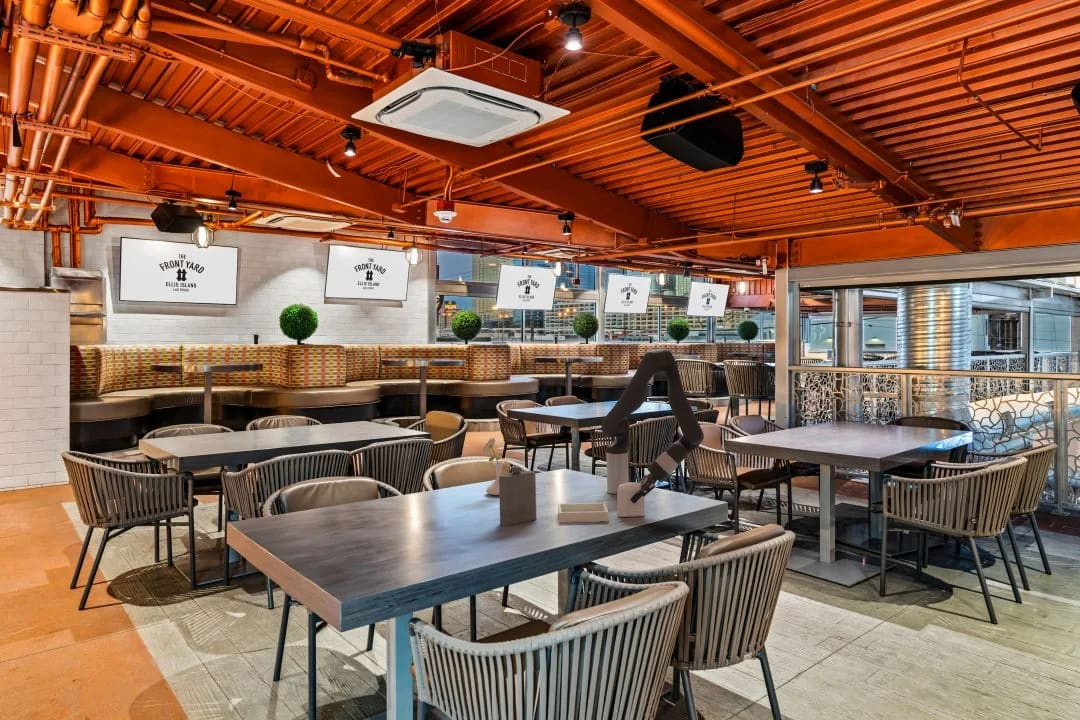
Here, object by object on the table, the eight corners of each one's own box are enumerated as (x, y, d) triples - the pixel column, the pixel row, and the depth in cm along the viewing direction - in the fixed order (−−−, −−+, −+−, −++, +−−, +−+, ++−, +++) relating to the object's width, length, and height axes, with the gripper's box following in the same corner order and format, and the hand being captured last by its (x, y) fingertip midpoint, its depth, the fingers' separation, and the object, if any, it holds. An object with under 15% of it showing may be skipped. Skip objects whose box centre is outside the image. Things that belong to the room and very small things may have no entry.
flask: (530, 516, 245) (528, 463, 245) (539, 519, 241) (537, 465, 240) (496, 523, 237) (494, 468, 236) (504, 526, 232) (503, 470, 232)
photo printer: (643, 513, 246) (642, 480, 245) (646, 516, 242) (645, 483, 241) (616, 515, 244) (615, 482, 244) (619, 518, 240) (618, 484, 240)
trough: (558, 513, 250) (558, 503, 250) (604, 511, 250) (604, 502, 250) (559, 522, 236) (559, 512, 236) (608, 521, 236) (608, 511, 236)
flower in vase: (501, 490, 292) (499, 434, 292) (517, 494, 284) (516, 436, 283) (477, 495, 283) (476, 437, 283) (494, 499, 275) (492, 439, 275)
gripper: (652, 456, 250) (621, 489, 250) (659, 463, 235) (626, 497, 236) (666, 470, 250) (635, 502, 250) (674, 477, 236) (641, 511, 236)
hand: (631, 499), depth 243 cm, fingers closed on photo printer, 4 cm apart
